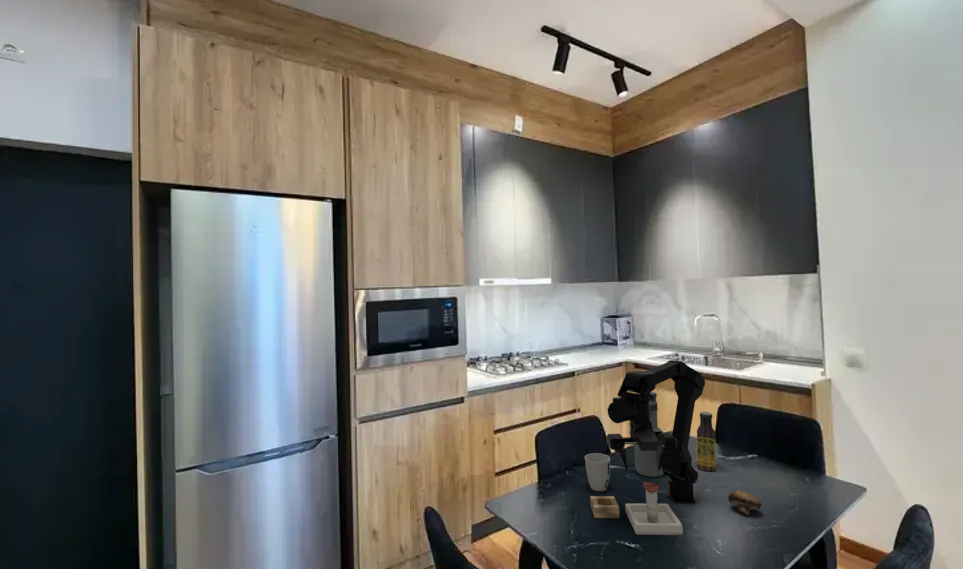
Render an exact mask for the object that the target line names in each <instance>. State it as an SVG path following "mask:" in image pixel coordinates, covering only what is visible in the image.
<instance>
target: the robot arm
mask: <svg viewBox="0 0 963 569" xmlns="http://www.w3.org/2000/svg"><path fill="white" fill-rule="evenodd" d="M670 379H671V380H672V381H673V382H674V385H673V386H674V390H675V393H676V396H677V401H676V409H675V415H674V419H673V428H672V433H670V432H664V431H663V430H662V431H653V428H652V422H651V421H650V402H649V400H651V399H654V397H653V396H652V395H651V394H650V392H653V391H655V389H656V387H657V385H658V384H660V383H663V382H665V381H667V380H670ZM705 385H706V379H705V377H703V375H702V373H700V372H699V371H698V370H695V369H694V368H692V367H690V366H689V365H688V364H686V363H685V362H684V361H682V360H674V359H671V360H667V361H666V362H664V363H663V364H659V365H657V366H655V367H652V368H649V369H648V370H647V369H646V370H635V371H634V370H633V371H628V372H627V373H626V374H625V376H624V378H623V380H622V383H621V385H620V388H619V390H618V392H617V397H613V398H612V402H610V404H608V407H607V416H608V417H609V419H610V420H611V422H613V423H614V424H621V423H625V422H629V437H626V436H625V437H623V436H622V434H620V433H608V434H607V435H606V438H605V440H606V444H607V446H608V447H609V449H610V450H613V451H614V452H616V453H618V455H619V458H620V460H621V464H622V466H623V468H624V470H625V472H629V471H628V467H629V466H628V462H627V461H628V460H627V450H626V449H625V447H626V445H634V444H638V446H639V449H640V450H641V451H649V450H653V451H656V462H657V469H658V471H660V469H661V467H662V470H663V473H664V474H663V476H665V477H668V480H667V481H666V486H667V495H668V497H669V498H670V499H671V501H673V502H674V503H697V502H696V499H695V498H694V484H696V483H697V481H698V477H699V473H698V472H697V471H696V469H695V468H694V466H692V462H693V461H692V460H693V458H692V455H691V453H690V451H689V442H690V436H691V428H692V422H693V418H694V411H695V403H696V401H698V399H699V398H700V397H701V396H702V395H703V392H704V388H705ZM636 393H640V394H636Z"/></svg>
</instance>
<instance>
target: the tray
mask: <svg viewBox="0 0 963 569" xmlns="http://www.w3.org/2000/svg"><path fill="white" fill-rule="evenodd" d="M624 504H625V506H624V510H625V514H626V516H627V519H628V520H629V522H630V525H631V526H632V528H633V531H634V533H635V534H636V535H637V536H638V535H639V536H641V535H643V536H645V535H647V536H648V535H653V536H655V535H656V536H665V535H666V536H683V535H684V534H683V533H684V530H683V527H684V526H683V524H682V523H681V522H680V521H681V520H679V518H678V517H677V515H676V514H675V512H674V511H673V510H672V508H671V507H670V505H669V504H668V503H658V523H649V522H648V521H647V510H646V503H624Z"/></svg>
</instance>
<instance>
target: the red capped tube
mask: <svg viewBox="0 0 963 569" xmlns="http://www.w3.org/2000/svg"><path fill="white" fill-rule="evenodd" d="M642 486H643V489H644V490H645V504H646V510H647V521H648V522H649V523H658V504H659V503H658V502H659V501H658V491H659V490H660V485H659V484H658V483H657V482H655V481H644V482H643V485H642Z"/></svg>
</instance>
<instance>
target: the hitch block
mask: <svg viewBox="0 0 963 569" xmlns="http://www.w3.org/2000/svg"><path fill="white" fill-rule="evenodd" d="M589 498H590V499H589V500H590V508H591V511H592V513H593V514H592V515H593V517H594V519H620V506H619V504H618V502H617V500H616V498H615V496H614V495H608V496H607V495H605V496H604V495H595V496H594V495H590V497H589Z"/></svg>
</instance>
